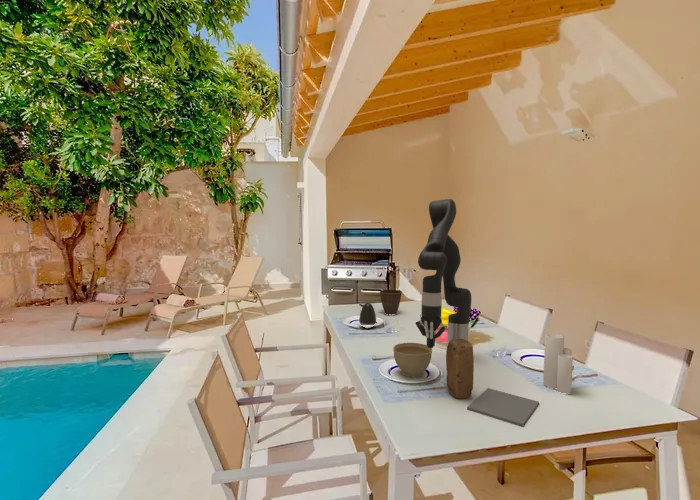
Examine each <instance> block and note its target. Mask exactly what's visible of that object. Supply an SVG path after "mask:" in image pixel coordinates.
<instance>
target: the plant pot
mask: <svg viewBox="0 0 700 500" xmlns="http://www.w3.org/2000/svg"><path fill="white" fill-rule="evenodd" d="M379 294H380V295H379V296H380V301H381V305H382V306H381V307H382V308H383V311H384V314H385V313H386V314H396V315H397V314H398V311H399V307H400V303H401V299H402V295H403V294H402V290H399V289H398V290H397V289H382V290H379ZM386 314H385V315H386Z"/></svg>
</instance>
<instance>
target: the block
mask: <svg viewBox="0 0 700 500" xmlns="http://www.w3.org/2000/svg"><path fill="white" fill-rule="evenodd" d="M445 352H446V354H445V363H446V365H445V367H446V387H447V390H448V392H449V394H450V395H451V396H453V397H454V398H457V399H467V398H469V397H471V396H472V391H473V389H474V371H475V369H474V345H473V344H472V343H471V342H470V341H469V340H468V341H467V340H465V339H454V340H451V341H450V342H449V343H448V342H447V345H446V351H445Z"/></svg>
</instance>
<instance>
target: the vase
mask: <svg viewBox="0 0 700 500" xmlns="http://www.w3.org/2000/svg"><path fill="white" fill-rule="evenodd" d="M572 352H573V351H572V349H571V348H568V347H565V336H564V335H563V334H560V333H553V332H551V333H550V332H548V333H545V334H544V352H543V354H544V357H543V376H542V377H543V379H542V382H543V383H542V385H543V384H544V385H545V386H547V387H549V388H548V389H550V388H557V389H556V390H557V391H558V392H561V393H566V394H570V393H571V394H572V385H573V384H572V383H573V363H574V357H573V355H572ZM544 385H543V386H544ZM545 386H544V387H545ZM547 387H546V388H547ZM557 391H556V392H557ZM558 392H557V393H558ZM561 393H560V394H561Z"/></svg>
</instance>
